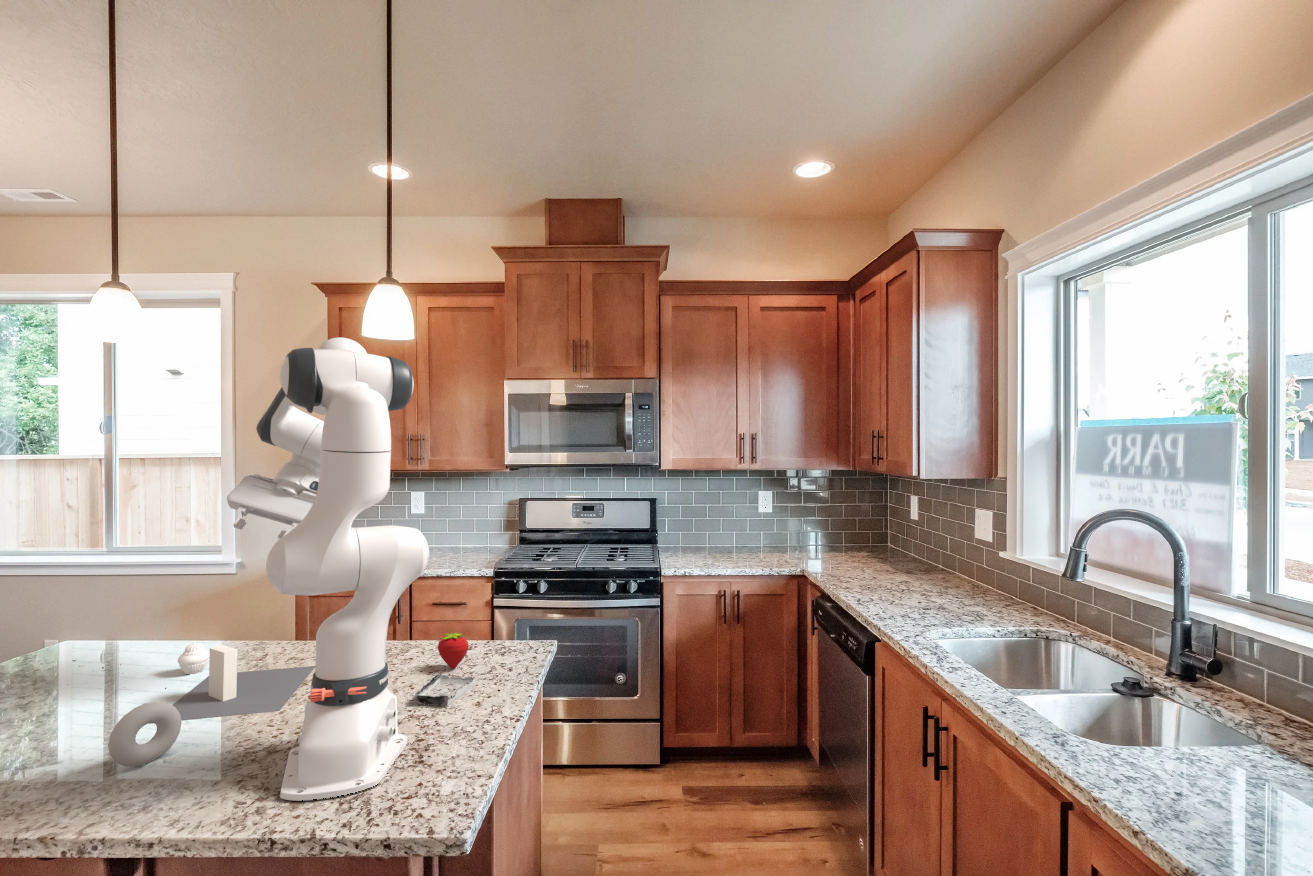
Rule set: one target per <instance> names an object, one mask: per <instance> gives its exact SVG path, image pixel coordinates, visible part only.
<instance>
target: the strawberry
mask: <svg viewBox="0 0 1313 876" xmlns="http://www.w3.org/2000/svg"><path fill="white" fill-rule="evenodd" d="M444 636H445V637H442V638H441V639H440V641H438V643H437V644H438V645H437V650H438V654H439V656H440V657H441V659H442V660H443V662H445V664H447V665H448V667H449V669H453V670H454V669H456V668H457V667H458V666H459V664H460V663H461V662H462V661H463V659H464V658H465V657H466V655H467V654H468V650H469V645H470V644H469V641H468V640H467V639H466V638H465V637H464V635H463V633H458V632H455V633H453V631H452V630H450V633H445V634H444Z"/></svg>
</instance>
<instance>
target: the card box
mask: <svg viewBox="0 0 1313 876" xmlns="http://www.w3.org/2000/svg"><path fill="white" fill-rule="evenodd" d="M209 653H210V658H209V659H208V660H209V661H208V662H209V665H208V666H209V667H208V668H209V669H208V670H209V671H208V676H209V696H211V697H214V698H216V699H218V700H221V701H226V700H229V699H232V698H235V697H236V694H237V672H238V649H237V648H233V647H230V646H227V645H224V644H221V645H217V646H213V647H210V648H209Z"/></svg>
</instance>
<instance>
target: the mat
mask: <svg viewBox="0 0 1313 876" xmlns="http://www.w3.org/2000/svg"><path fill="white" fill-rule="evenodd" d="M314 670H315V665H311V666H297V667H285V668H275V669H274V668H272V669H264V670H263V669H260V670H248V671H237V694H236V697H235V698H232V699H229V700H226V701H221V700H218V699H216V698H214V697H211V696H209V675H208V676H207V677H206V678H205V679H203V680H202V681H200V682H199V683H198V684H197V685H195V686H194V687H193V688H192V689H191V690H189V691H188V692H187V693H185V694H184V695H182V696H181V697H180V698H179V699H178V700H177V701H176V702H174V703H172V704H171V705H172V706H174V707H176V709H177V710H178V712H179V713H180V716H181V722H183V721H189V720H200V719H201V720H202V719H210V718H222V717H223V718H224V717H230V716H231V717H232V716H241V715H243V716H244V715H253V714H262V713H272V712H280V711H281V710H282V708H284V706H285V705H286V704H287V702H288V701H289V700H290V699H291V697H292V696H293V695H294V694H295V693H296V691H297V690H298V689H299V688H300V687H301V685H302V684H303V683H304V681H305V680H306V679H307V678H308V677H309V676H310V674H311V673H312V672H313V671H314ZM148 724H149V725H151V724H152V723H148Z"/></svg>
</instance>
